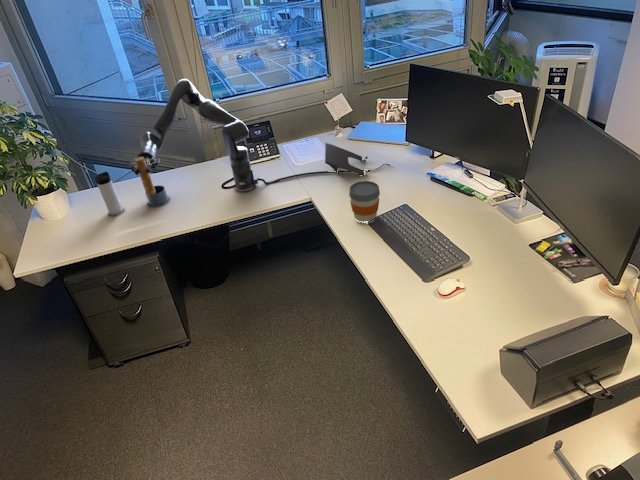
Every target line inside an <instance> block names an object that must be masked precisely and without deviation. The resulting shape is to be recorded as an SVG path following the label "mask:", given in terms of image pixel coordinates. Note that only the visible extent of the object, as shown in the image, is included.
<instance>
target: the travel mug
mask: <svg viewBox="0 0 640 480" xmlns="http://www.w3.org/2000/svg"><path fill="white" fill-rule="evenodd" d="M94 177H95V182H96V185H97V187H98V189H99V193H100V194H101V197H102V199H103V201H104V204H105V206H106V209H107V211H108V213H109V215H110V216H117V215H119V214H121V213H122V212H123V211H124V209H123V206H122V203H121V201H120V198H119V195H118V193H117V191H116V188H115V186H114V183H113V181H112V179H111V176H110V174H109V171H104V172H101V173H99V174H97V175H96V176H94Z"/></svg>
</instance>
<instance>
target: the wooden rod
mask: <svg viewBox="0 0 640 480" xmlns="http://www.w3.org/2000/svg"><path fill="white" fill-rule="evenodd" d="M134 163H136V165H135V166H137V169H138V171H139V174H138V175H139V177H140V180H141V182H142V183H141V184H142V186H143V188H144V191H145V192H146V193H145V195H146V194H147V195H153V194H155V189H154V186H155V185H154V183H153V179H152V176H151V175H150V172H149V173H147V171H146V167H147V165H146V162H145V159H144V157H138V156H137V157H135V158H134Z"/></svg>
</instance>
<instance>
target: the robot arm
mask: <svg viewBox="0 0 640 480" xmlns="http://www.w3.org/2000/svg"><path fill="white" fill-rule="evenodd" d="M180 101H182V102H183V103H184V104H186V105H188V106H189V107H190V108H193V109H194V110H195V111H196V112H197V113H198V114H199V116H201V118H203V119H204V120H205V121H206V122H207V123H210V124H211V125H215V126H220V127H221V134H222V135H221V136H222V139H223V142H224V145H225V146H224V147H225V149H226V152H227V155H228V158H229V163H230V167H231V172H232V177H233V181H234V184H235V190H236V191H237V192H243V193H244V192H249V191H252V190H253V189H256V185H258V184H259V181H261V182H263V184H265V185H271V184H275V183H277V182H280V181H283V180H287V179H293V178H296V177H301V176H302V177H303V176H309V175H319V174H337V173H336V172H328V171H329V170H323V171H311V172H304V173H297V174H292V175H288V176H284V177H280V178H277V179H275V180H272V181H269V182H268V181H266V180H265V179H264V178H260V177H258V174H254V172H253V171H254V170H253V169H252V166H251V160H250V155H249V150H248V148H247V147H245V146H243V145H242V146H240V145H239V146H238V145H237V143H240V142H243V141H245V140H247V139H248V138H249V136H250V135H249V133H250V132H249V129H248V127H247V126H246V124H245V123H244V122H243V121H241V120H240V119H239V118H237V117H235V116H233V115H232V114H230V113H228V111H226V110H225V109H223V108H222V107H221V106H220V105H218V104H217V103H216V102H214V101H213V100H211V99H209V98H205V97H204V96H203V95H201V94H200V92H199V91H198V90H197V89H196V86H194V84H193V83H192V82H191V81H190V80H189V79H187V78H182V79H179V80H178V81H177V83H176V84H175V85H174V87H173V89H172V91H171V93H170V95H169V97H168V100H167V102H166V103H165V104H166V105H165V106H164V109H163V111H162V112H161V114H160V115H159V117H158V118H157V120H156V121H155V122H154V124H153V126H152V127H153V130H154V131H155V132H156V133H157V135H158V136H156V135H155V134H154V133H152V132H150V131H145V132H143V133H142V134H141V136H140V137H139V138H140V139H139V144H140V147H141V148H140V149H139V152H138V154H137V157H144V159H145V162H146V165H147V167H146V171H147V173H149V174H150V173H151V171H152V170H153V169H154V170H155V169H157V168H158V167H159V166H160V164H161V163H162V162H161V159H160V157H157V153H158V152H160V151H161V150H162V148H163V146H164V143H165V139H166V136H167V134H168V132H169V131H170V130H171V128H172V126H173V125H174V122H175V121H176V116H177V110H178V106H179V103H180ZM128 164H129V167H130V170H131V171H132V173H134V175H135V176H139V175H140V174H139V171H138V169H137V166H136V163H135V162H132V161H129V162H128ZM363 171H364V170H363ZM338 173H339V174H341V173H352V172H351V171H343V170H338Z"/></svg>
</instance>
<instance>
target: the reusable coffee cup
mask: <svg viewBox="0 0 640 480" xmlns="http://www.w3.org/2000/svg"><path fill="white" fill-rule="evenodd" d="M348 195H349V198H350V201H349V203H350V206H351V207H350V208H351V211H352V212H353V215H354V216H353V217H354V219H355V218H356V219H357V220H359V221H363V222H364V221H369V220H371V219H373V218H374V217H376V218H377V214H378V213H377V212H378V211H379V205H380V198H379V197H380V195H381V193H380V185H379V184H378V183H376V182H374V181H371V180H361V181H357V182H354V183H351V185H350V187H349V193H348ZM364 224H365V225H364ZM359 225H362V226H363V225H364V226H367V225H366V223H362V222H360V224H359Z"/></svg>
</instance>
